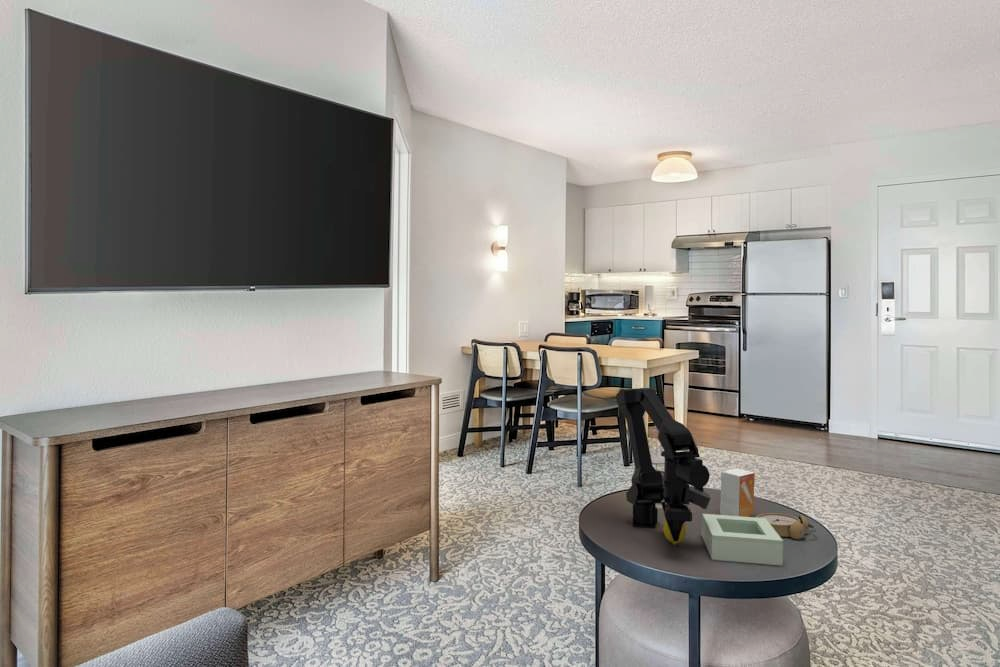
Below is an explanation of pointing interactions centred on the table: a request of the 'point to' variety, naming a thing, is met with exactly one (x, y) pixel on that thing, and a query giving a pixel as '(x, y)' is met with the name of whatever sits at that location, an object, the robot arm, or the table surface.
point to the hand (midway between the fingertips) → (674, 536)
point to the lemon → (669, 536)
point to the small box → (737, 493)
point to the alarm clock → (788, 525)
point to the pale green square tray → (741, 539)
